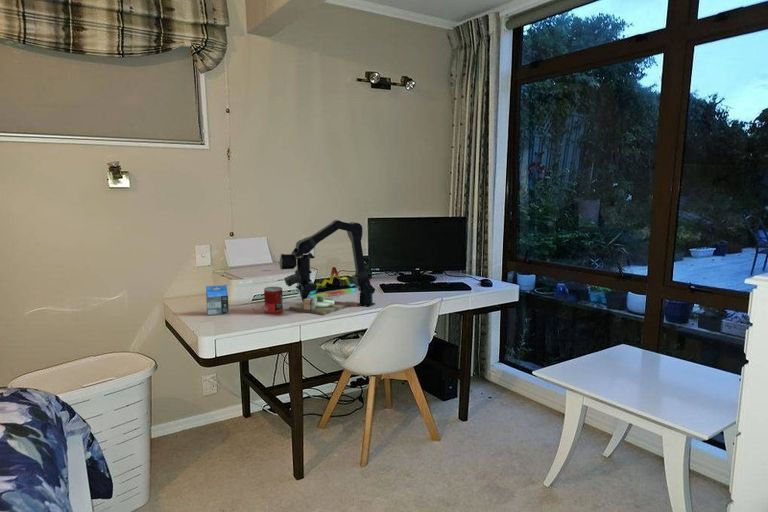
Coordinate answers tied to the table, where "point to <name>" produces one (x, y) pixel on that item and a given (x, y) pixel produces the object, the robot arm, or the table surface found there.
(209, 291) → the label tape cartridge
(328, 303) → the flange plate
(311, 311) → the beige square tray
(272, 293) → the canned food
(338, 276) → the chart
